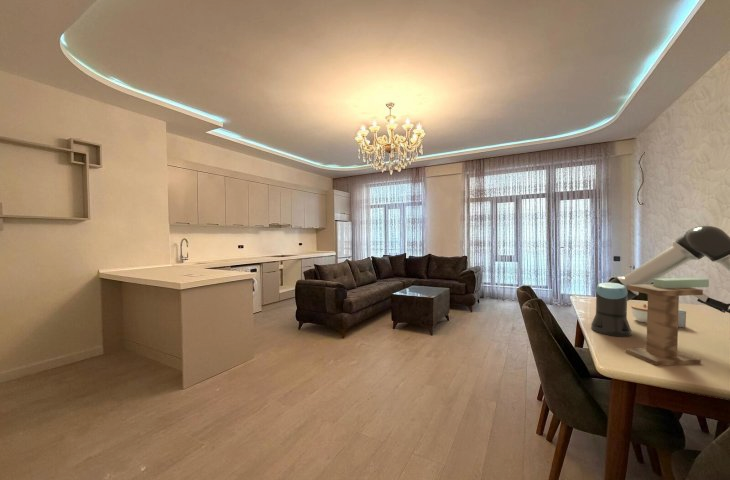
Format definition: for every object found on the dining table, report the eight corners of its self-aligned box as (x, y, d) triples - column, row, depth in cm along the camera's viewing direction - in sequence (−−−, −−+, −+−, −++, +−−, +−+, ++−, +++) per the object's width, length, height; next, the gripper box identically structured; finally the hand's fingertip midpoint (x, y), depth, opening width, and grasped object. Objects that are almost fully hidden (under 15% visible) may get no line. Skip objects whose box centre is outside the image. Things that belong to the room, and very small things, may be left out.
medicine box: (682, 325, 152) (683, 309, 152) (685, 328, 149) (686, 311, 148) (661, 323, 157) (662, 307, 156) (664, 325, 153) (664, 309, 152)
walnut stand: (665, 350, 121) (667, 283, 120) (700, 363, 109) (703, 289, 108) (625, 352, 120) (627, 284, 119) (657, 365, 108) (659, 290, 107)
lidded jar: (631, 317, 167) (631, 301, 167) (657, 321, 160) (658, 304, 160) (630, 321, 160) (631, 304, 159) (658, 325, 152) (659, 308, 152)
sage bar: (696, 285, 117) (696, 277, 117) (708, 287, 113) (708, 279, 113) (653, 286, 115) (653, 278, 115) (664, 288, 111) (664, 280, 111)
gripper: (798, 339, 105) (755, 312, 103) (710, 318, 130) (674, 296, 128) (808, 321, 105) (765, 293, 103) (718, 304, 130) (682, 281, 128)
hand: (714, 295), depth 116 cm, fingers open, 13 cm apart
